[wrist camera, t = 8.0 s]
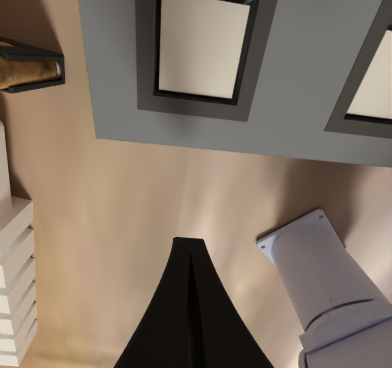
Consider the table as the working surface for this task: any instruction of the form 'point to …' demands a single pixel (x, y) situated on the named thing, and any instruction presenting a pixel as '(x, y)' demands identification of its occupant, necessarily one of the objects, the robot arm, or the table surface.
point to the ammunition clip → (28, 67)
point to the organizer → (15, 270)
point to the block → (245, 81)
